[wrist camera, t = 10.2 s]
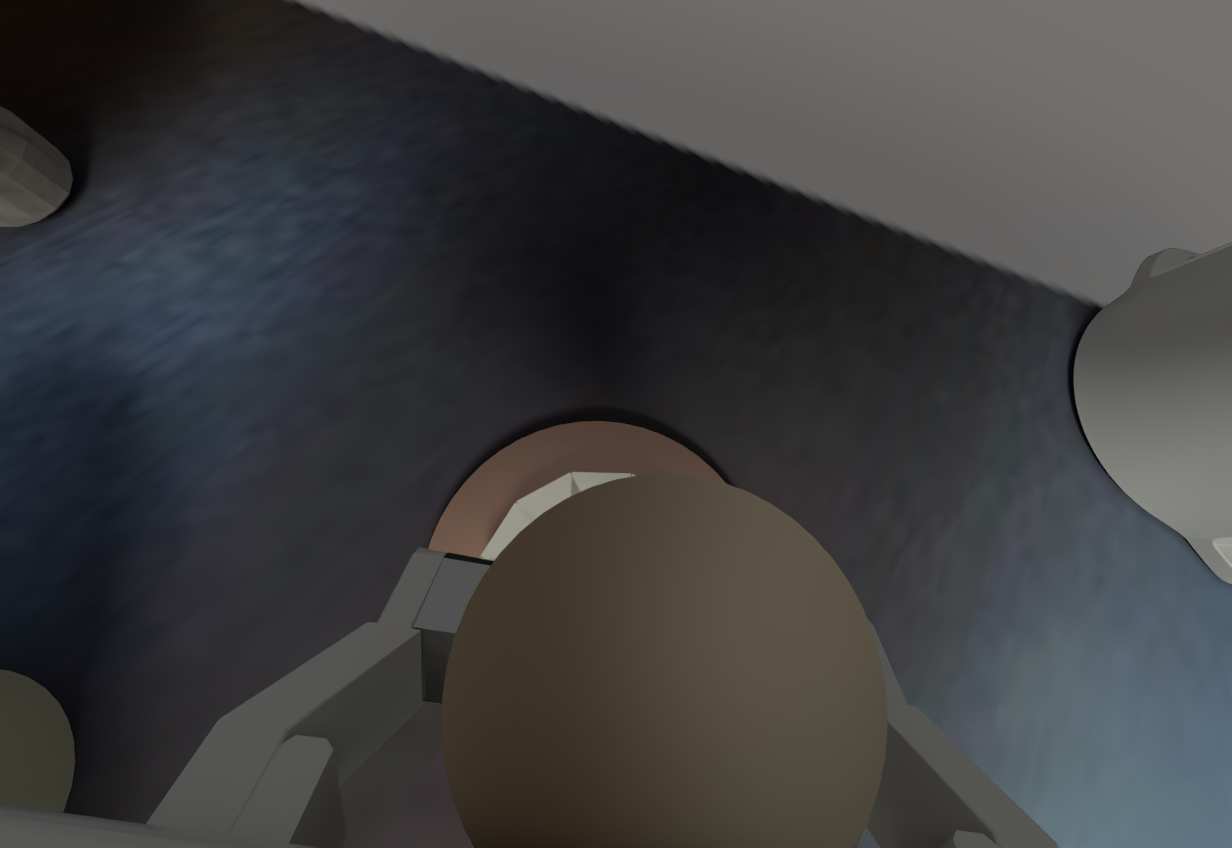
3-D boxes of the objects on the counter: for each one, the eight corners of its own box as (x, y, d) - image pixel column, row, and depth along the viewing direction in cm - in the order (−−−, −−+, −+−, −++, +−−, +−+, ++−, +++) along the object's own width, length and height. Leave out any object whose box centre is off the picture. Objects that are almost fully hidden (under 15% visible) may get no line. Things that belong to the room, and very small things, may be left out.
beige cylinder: (696, 522, 17) (873, 471, 7) (700, 711, 15) (921, 968, 6) (522, 518, 16) (454, 459, 7) (511, 712, 15) (407, 989, 5)
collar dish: (754, 429, 29) (769, 418, 26) (770, 775, 25) (789, 796, 23) (440, 419, 28) (428, 407, 25) (406, 779, 24) (389, 802, 22)
